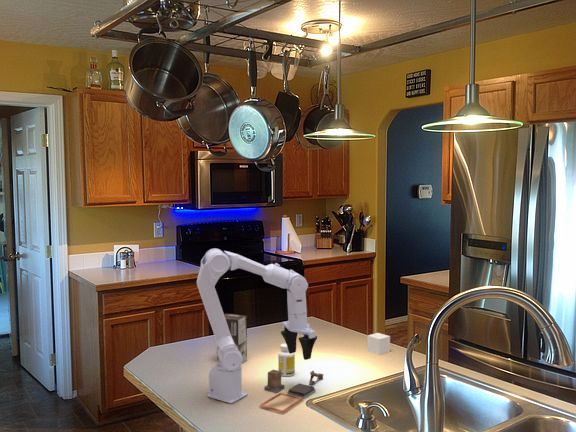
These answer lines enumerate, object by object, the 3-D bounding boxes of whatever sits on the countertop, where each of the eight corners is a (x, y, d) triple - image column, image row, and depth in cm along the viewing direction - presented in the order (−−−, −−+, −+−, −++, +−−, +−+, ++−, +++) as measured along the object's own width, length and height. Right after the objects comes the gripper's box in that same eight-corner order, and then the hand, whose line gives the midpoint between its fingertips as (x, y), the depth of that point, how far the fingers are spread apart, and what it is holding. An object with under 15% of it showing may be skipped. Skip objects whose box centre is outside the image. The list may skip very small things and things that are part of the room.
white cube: (377, 348, 208) (377, 332, 208) (389, 351, 204) (390, 336, 203) (367, 351, 204) (367, 335, 204) (379, 355, 200) (379, 339, 199)
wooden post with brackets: (306, 384, 169) (308, 369, 170) (316, 386, 175) (318, 372, 177) (311, 385, 168) (314, 370, 169) (321, 387, 175) (323, 373, 176)
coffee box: (247, 360, 193) (247, 315, 192) (238, 365, 188) (238, 319, 186) (225, 356, 197) (225, 312, 196) (216, 361, 191) (216, 316, 190)
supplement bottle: (296, 372, 182) (296, 343, 181) (292, 377, 177) (292, 348, 176) (280, 370, 183) (281, 341, 183) (276, 376, 178) (276, 346, 177)
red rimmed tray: (259, 407, 154) (259, 404, 154) (280, 394, 163) (280, 392, 163) (283, 414, 149) (283, 411, 149) (303, 401, 158) (303, 398, 158)
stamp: (264, 390, 166) (264, 372, 166) (272, 385, 170) (272, 368, 170) (276, 393, 164) (276, 375, 164) (284, 388, 168) (284, 371, 167)
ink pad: (287, 394, 163) (287, 389, 163) (298, 387, 168) (298, 382, 168) (304, 399, 160) (304, 394, 160) (315, 391, 165) (315, 386, 165)
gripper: (322, 314, 162) (324, 358, 163) (293, 305, 174) (296, 347, 175) (303, 319, 158) (306, 364, 159) (275, 310, 169) (278, 352, 171)
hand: (299, 355), depth 167 cm, fingers open, 7 cm apart
